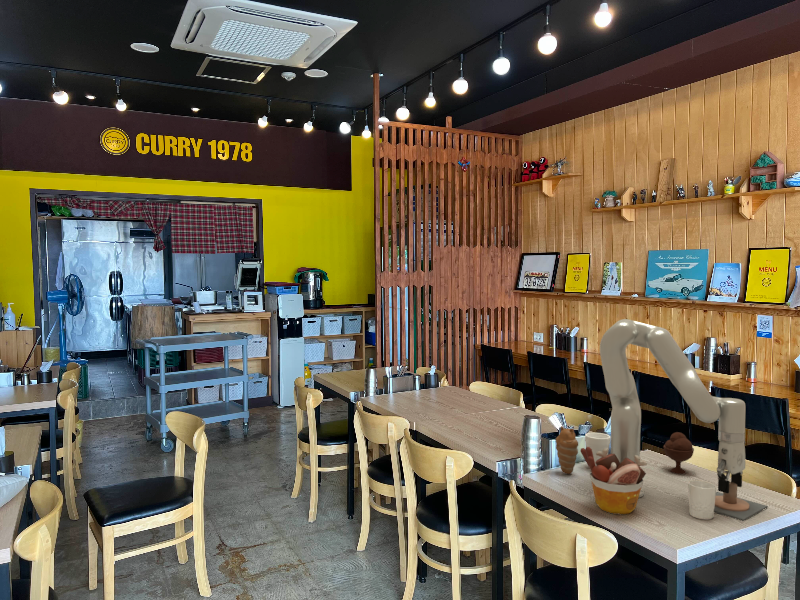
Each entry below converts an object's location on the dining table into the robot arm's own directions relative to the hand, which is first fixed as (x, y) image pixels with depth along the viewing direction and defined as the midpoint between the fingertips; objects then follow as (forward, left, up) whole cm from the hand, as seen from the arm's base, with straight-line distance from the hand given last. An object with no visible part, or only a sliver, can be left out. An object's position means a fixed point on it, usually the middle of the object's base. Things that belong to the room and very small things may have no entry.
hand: (730, 488), depth 193 cm
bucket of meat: (-32, +22, -6) cm, 39 cm away
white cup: (-15, +2, -6) cm, 16 cm away
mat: (0, 0, -6) cm, 6 cm away
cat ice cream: (-16, +52, -6) cm, 55 cm away
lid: (0, 0, -5) cm, 5 cm away
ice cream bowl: (+21, +28, -6) cm, 36 cm away
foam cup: (-1, +49, -6) cm, 49 cm away
